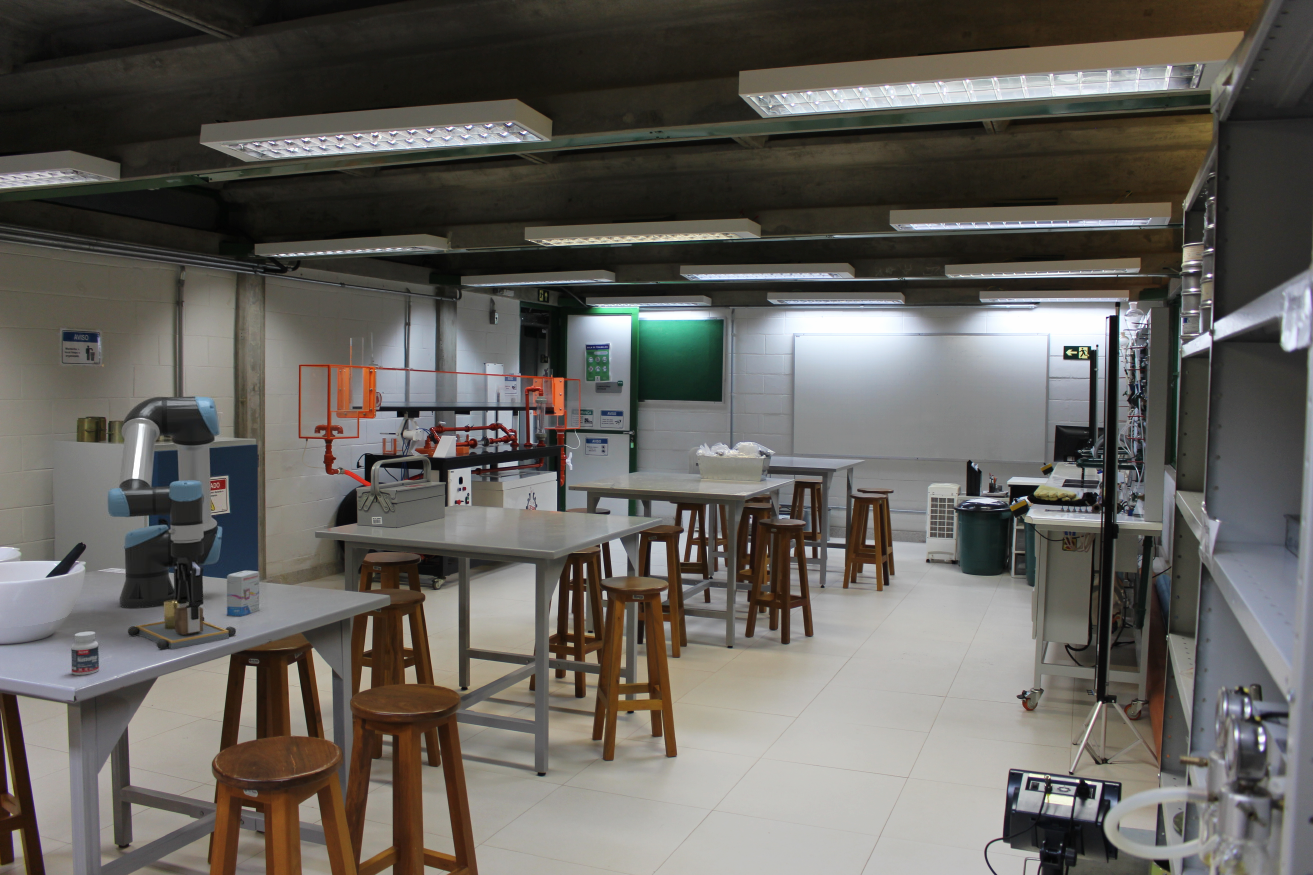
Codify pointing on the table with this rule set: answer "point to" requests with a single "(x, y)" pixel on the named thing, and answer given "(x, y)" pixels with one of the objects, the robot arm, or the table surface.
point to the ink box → (242, 593)
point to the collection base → (180, 635)
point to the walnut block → (185, 620)
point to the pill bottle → (85, 654)
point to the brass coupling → (170, 613)
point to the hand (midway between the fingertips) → (189, 629)
